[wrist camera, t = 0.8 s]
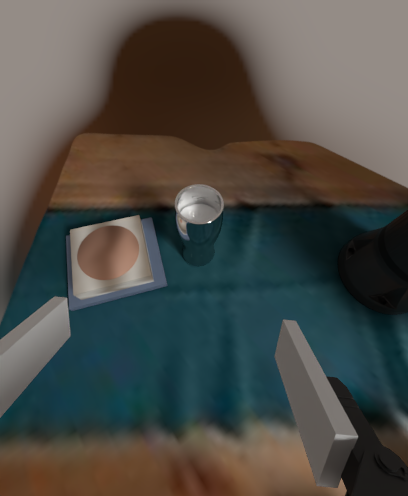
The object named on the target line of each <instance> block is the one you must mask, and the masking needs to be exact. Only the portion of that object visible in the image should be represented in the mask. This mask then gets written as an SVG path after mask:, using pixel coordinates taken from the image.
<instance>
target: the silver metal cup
mask: <svg viewBox="0 0 408 496" xmlns="http://www.w3.org/2000/svg"><path fill="white" fill-rule="evenodd" d="M223 208H224V202H223V198H222V196H221V195H220V193H219V192H218V191H217V190H215V189H214V188H212V187H210V186H207V185H202V184H196V185H191V186H188V187H186V188H184V189H183V190H181V191H180V192H179V194H178V195H177V197H176V199H175V222H176V228H177V231H178V234H179V237H180V239H181V241H182V243H183V248H182V255H183V258H184V259H185V261H186V262H187V263H189V264H190V265H193V266H204V265H206V264H208V263H209V262H210V261H211V260H212V259H213V257H214V253H215V250H214V243H215V242H216V240H217V238H218V236H219V233H220V231H221V227H222V222H223Z"/></svg>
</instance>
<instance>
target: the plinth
mask: <svg viewBox="0 0 408 496" xmlns="http://www.w3.org/2000/svg"><path fill="white" fill-rule="evenodd" d="M70 241H71V260H72V279H73V295H74V296H76V297H77V298H79V299H81V300H84V299H87V298H91V297H95V296H99V295H103V294H107V293H111V292H115V291H119V290H123V289H126V288H130V287H134V286H138V285H142V284H146V283H150V282H154V279H153V274H152V269H151V264H150V259H149V254H148V249H147V245H146V240H145V235H144V230H143V225H142V222H141V219H140V216H139V215H137V216H132V217H127V218H123V219H118V220H113V221H109V222H104V223H99V224H95V225H90V226H85V227H81V228H76V229H71V230H70Z"/></svg>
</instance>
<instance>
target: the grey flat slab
mask: <svg viewBox="0 0 408 496" xmlns="http://www.w3.org/2000/svg"><path fill="white" fill-rule="evenodd" d="M141 222H142V225H143V230H144V235H145V240H146V245H147V249H148V254H149V259H150V264H151V269H152V274H153V279H154V282H150V283H146V284H142V285H138V286H134V287H130V288H126V289H123V290H119V291H115V292H111V293H107V294H103V295H99V296H95V297H91V298H87V299H84V300H81V299H79V298H77V297H76V296H74V295H73V279H72V260H71V241H70V235H68V236H66V248H67V271H68V295H69V309H70V310H72V311H74V310H78V309H81V308H85V307H89V306H93V305H97V304H100V303H104V302H108V301H112V300H116V299H120V298H123V297H127V296H131V295H135V294H139V293H143V292H146V291H150V290H154V289H158V288H162V287H165V286H167V282H166V277H165V273H164V269H163V264H162V260H161V255H160V251H159V247H158V242H157V238H156V233H155V229H154V225H153V220H152V217H151V218H147V219H142V220H141Z"/></svg>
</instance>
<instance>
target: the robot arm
mask: <svg viewBox="0 0 408 496" xmlns="http://www.w3.org/2000/svg"><path fill="white" fill-rule="evenodd" d="M338 269H339V274H340V277H341V279H342V281H343V283H344V285H345V286H346V288H347V289H348V291H349V292H350V293H351V294H352V295H353V296H354V297H355V298H356V299H357V300H358V301H359V302H361V303H362V304H363V305H365V306H367V307H368V308H370V309H372V310H375V311H377V312H380V313H384V314H390V315H398V314H403V313H407V312H408V210H407V211H406V212H404V213H403V214H402V215H400V216H399V217H397V218H396V219H395V220H393V221H392V222H391V223H389V224H388V225H387V226H385V227H383V228H379V229H376V230H372V231H369V232H366V233H362V234H360V235H358V236H356V237H354V238H353V239H352V240H350V241H349V242H348V243H347V244H346V245H345V246H344V247H343V248H342V250H341V251H340V254H339V257H338ZM70 336H71V335H70V325H69V314H68V304H67V298H63V297H53V298H52V299H51V300H50V301H48V302H47V303H46V304H45V305H43V306H42V307H41V308H40V309H38V310H37V311H36V312H35V313H33V314H32V315H31V316H30V317H28V318H27V319H26V320H24V321H23V322H22V323H21V324H19V325H18V326H17V327H16V328H14V329H13V330H12V331H11V332H9V333H8V334H7V335H6V336H4V337H3V338H2V339H1V340H0V417H1V416H2V415H3V414H4V413H5V411H6V410H7V409H8V408H9V407H10V406H11V404H12V403H13V402H14V401H15V400H16V399H17V398H18V396H19V395H20V394H21V393H22V392H23V391H24V389H25V388H26V387H27V386H28V385H29V384H30V382H31V381H32V380H33V379H34V378H35V377H36V375H37V374H38V373H39V372H40V371H41V370H42V368H43V367H44V366H45V365H46V364H47V363H48V361H49V360H50V359H51V358H52V357H53V356H54V354H55V353H56V352H57V351H58V350H59V349H60V348H61V346H62V345H63V344H64V343H65V342H66V341H67V339H68V338H69V337H70ZM275 359H276V362H277V365H278V368H279V371H280V374H281V377H282V381H283V384H284V387H285V390H286V393H287V396H288V399H289V402H290V405H291V408H292V411H293V414H294V417H295V420H296V423H297V426H298V429H299V433H300V436H301V439H302V442H303V445H304V448H305V451H306V454H307V457H308V460H309V463H310V466H311V469H312V472H313V475H314V478H315V481H316V485H317V486H323V487H333V488H337V487H338V485H339V482H340V480H341V478H342V480H343V482H344V485H345V487H346V489H347V492H346V495H345V496H408V467H407V466H406V464H405V463H404V462H403V461H402V460H401V459H400V458H399V456H397V455H396V454H395V453H394V452H392V451H391V450H390V449H388V448H386V447H384V446H383V445H382V444H381V442H380V441H379V439H378V438H377V436H376V434H375V433H374V431H373V429H372V428H371V426H370V424H369V423H368V421H367V420H366V418H365V416H364V415H363V413H362V411H361V410H360V409H359V406H358V405H357V403H356V402H355V400H353V397H352V395H351V393H350V392H349V390H348V389H347V387H346V386H345V385H344V384H343V383H342V382H341V381H340V380H339V379H338V378H335V377H326V376H325V374H324V372H323V370H322V368H321V367H320V365H319V363H318V361H317V359H316V357H315V356H314V354H313V352H312V350H311V348H310V346H309V344H308V343H307V341H306V339H305V337H304V335H303V333H302V332H301V330H300V328H299V326H298V324H297V322H296V321H291V320H283V322H282V326H281V331H280V335H279V340H278V344H277V349H276V353H275Z"/></svg>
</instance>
